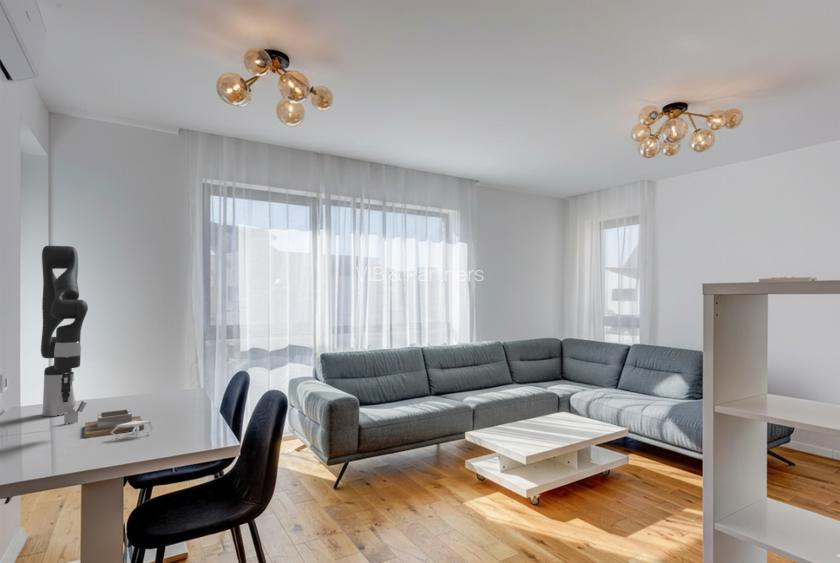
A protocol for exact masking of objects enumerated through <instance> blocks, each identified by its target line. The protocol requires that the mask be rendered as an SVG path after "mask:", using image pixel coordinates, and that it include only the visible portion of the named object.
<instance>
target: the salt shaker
mask: <svg viewBox="0 0 840 563" xmlns="http://www.w3.org/2000/svg"><path fill="white" fill-rule="evenodd" d="M70 378H71V377H70ZM59 381H60V378H59ZM70 381H71V379H70ZM72 381H73V382H74V381H75V375H73V378H72ZM63 389H68V387H63ZM70 389H71V392H70V397H68V402H63V397H62V393H61V386H60V389H59V393H58V396H57V400H56V404H55V407H56V409H57V411H58V412H59V413H61V412H70V411H72V410H73V409H74V408H75V406H76V398H75V393H74V392H75V391H74V386H73V384H72V386H70ZM65 396H66V395H65ZM65 398H66V397H65ZM65 400H66V399H65Z"/></svg>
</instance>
